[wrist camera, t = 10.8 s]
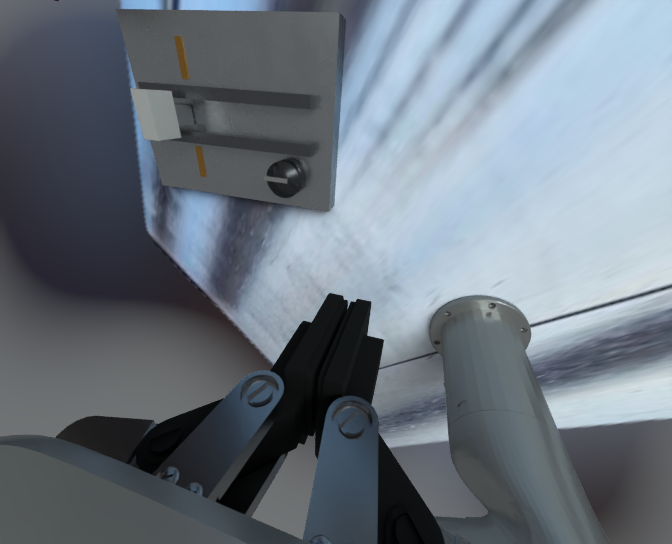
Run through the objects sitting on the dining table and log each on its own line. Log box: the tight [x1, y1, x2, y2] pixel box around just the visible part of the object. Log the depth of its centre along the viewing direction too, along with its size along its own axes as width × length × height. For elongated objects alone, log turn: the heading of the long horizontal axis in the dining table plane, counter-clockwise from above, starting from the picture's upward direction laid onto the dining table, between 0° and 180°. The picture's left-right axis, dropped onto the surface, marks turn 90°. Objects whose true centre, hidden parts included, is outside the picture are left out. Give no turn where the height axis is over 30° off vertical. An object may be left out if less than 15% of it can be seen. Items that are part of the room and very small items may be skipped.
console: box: [116, 9, 346, 211], centre depth 31 cm, size 18×24×5 cm
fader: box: [130, 88, 195, 141], centre depth 30 cm, size 4×2×6 cm, turn 176°
